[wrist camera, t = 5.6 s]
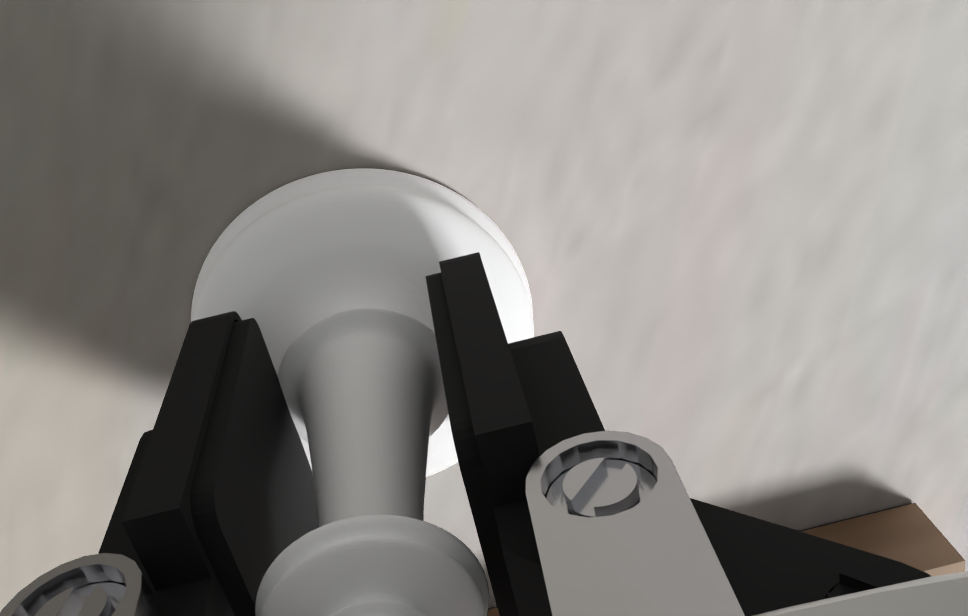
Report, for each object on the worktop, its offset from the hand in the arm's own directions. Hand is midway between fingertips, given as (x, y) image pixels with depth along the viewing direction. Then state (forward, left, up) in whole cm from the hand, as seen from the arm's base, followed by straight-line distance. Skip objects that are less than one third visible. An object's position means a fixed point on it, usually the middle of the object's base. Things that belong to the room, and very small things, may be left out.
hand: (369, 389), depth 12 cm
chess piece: (0, 0, -2) cm, 2 cm away
